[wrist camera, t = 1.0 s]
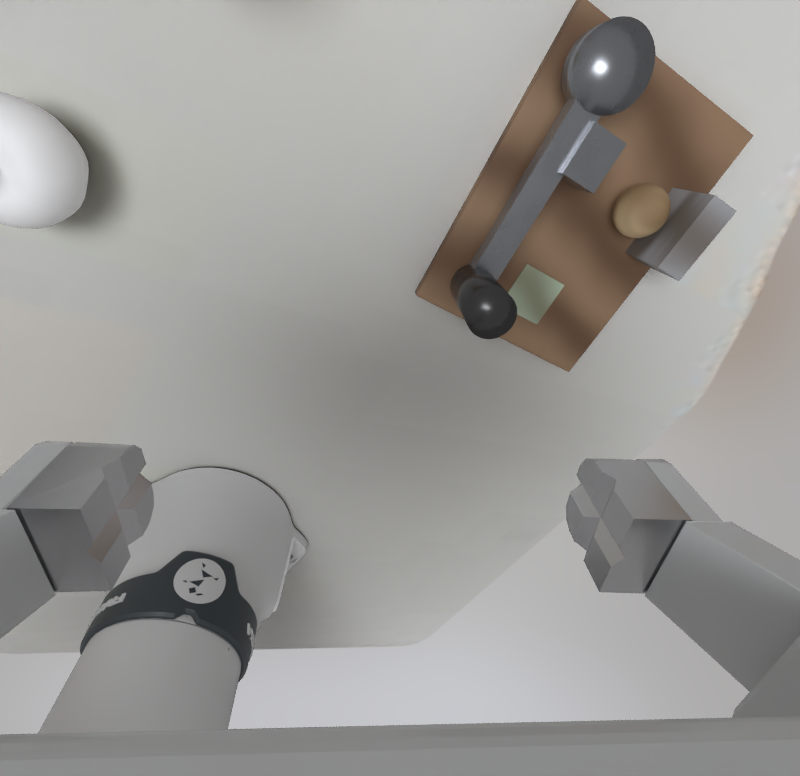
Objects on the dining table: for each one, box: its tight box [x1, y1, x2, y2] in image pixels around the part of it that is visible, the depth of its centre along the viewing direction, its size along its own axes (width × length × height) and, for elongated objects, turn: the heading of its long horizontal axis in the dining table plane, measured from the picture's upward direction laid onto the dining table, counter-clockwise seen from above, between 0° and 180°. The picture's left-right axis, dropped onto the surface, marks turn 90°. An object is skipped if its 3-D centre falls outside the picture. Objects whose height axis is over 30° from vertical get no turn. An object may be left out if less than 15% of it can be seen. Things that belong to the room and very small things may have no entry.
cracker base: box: [415, 0, 753, 372], centre depth 31 cm, size 20×15×5 cm
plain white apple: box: [0, 93, 89, 229], centre depth 26 cm, size 7×7×8 cm
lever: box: [450, 16, 655, 339], centre depth 26 cm, size 18×5×6 cm, turn 152°
